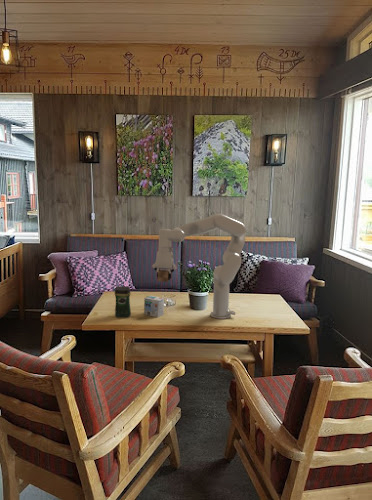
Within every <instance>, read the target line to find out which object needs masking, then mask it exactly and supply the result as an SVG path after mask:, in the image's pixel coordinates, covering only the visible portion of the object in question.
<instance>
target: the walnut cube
mask: <svg viewBox="0 0 372 500" xmlns="http://www.w3.org/2000/svg"><path fill="white" fill-rule="evenodd" d="M168 274H169V271H168V269H163V268H160V270H159V271H158V279H157V282H164V283H168V282H169V281H170V280H168Z"/></svg>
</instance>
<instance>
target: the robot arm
mask: <svg viewBox="0 0 372 500" xmlns="http://www.w3.org/2000/svg"><path fill="white" fill-rule="evenodd" d="M218 229H219V230H221V231H223V232H225V233H227V234H230V236H231V238H230V241H229V244H228V245H227V248H226V250H225V251H224V253H223V256H222V262H223V264H222V265H218V266H216V268H214V271H213V298H212V300H213V301H212V302H213V303H212V304H213V305H212V311H211V312H210V313H209V314H210V315H209V316H210V317H212V318H214V319H221V320H222V319H223V320H224V319H225V320H226V319H229V318H231V317H232V315H234V316H235V315H236V312H235V311H234V310H231V309H230V307H229V305H230V304H229V303H230V301H229V300H230V284H231V283H232V282H233V281H234V280H235V277H236V275H237V274H238V272H239V270H240V267H241V264H242V257H241V253H242V250H243V248H244V246H245V242H246V233H247V227H246V226H245V224H244V223H242V222H241V221H238V220H235V219H233V218H231V217H229V216H227V215H225V214H222V213H216V214H213V215H210V216H207V217H204V218H202V219H201V218H200V219H199V220H195V221H192V222H188V223H186V224H183V225H179V226H177V227H174V228H172V229H170V228H160V229H159V231H158V251H157V252H156V258H155V262H154V263H153V264H152V265H151V268H153V270H154V271H156V278H157V280H158V271H159V270H161V269H163V270H168V271H169V274H168V280H169V281H171V279H172V273H174V272H175V271H176V269H177V268H178V267H177V266H176V264H175V263H174V252H173V251H174V248H172V247H173V246H172V242H175V243H181V242H183V241H184V240H185V239H186V237H189V236H193V235H204V234H206V233H209V232H212V231H215V230H218Z"/></svg>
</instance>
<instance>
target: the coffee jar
mask: <svg viewBox="0 0 372 500" xmlns="http://www.w3.org/2000/svg"><path fill="white" fill-rule="evenodd" d="M114 297H115V309H114V317H115V318H121V319H122V318H130V317H131V315H132V314H131V313H132V312H131V311H132V310H131V302H130V297H131V287H130V286H121V285H120V286H117V285H116V286H115V289H114Z"/></svg>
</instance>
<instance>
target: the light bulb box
mask: <svg viewBox="0 0 372 500" xmlns="http://www.w3.org/2000/svg"><path fill="white" fill-rule="evenodd" d="M143 300H144V301H143V302H144V305H143V306H144V307H143V310H144V311H143V314H144V315H146V316H151V317H156V318H160V317H161V316H163V315H165V313H164V311H165V306H164V305H165V298H164V297H160V296H154V295H148V296H147V297H144V299H143Z"/></svg>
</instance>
